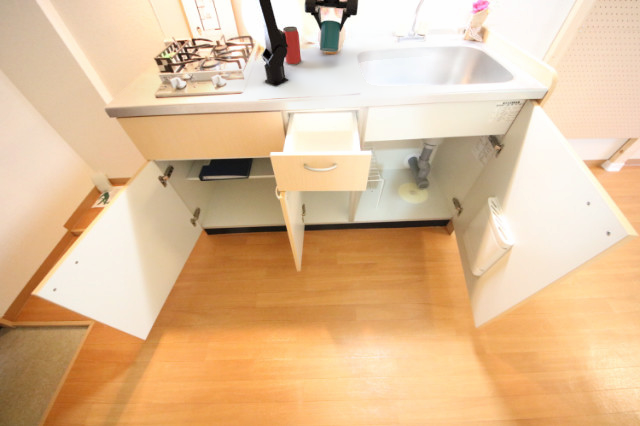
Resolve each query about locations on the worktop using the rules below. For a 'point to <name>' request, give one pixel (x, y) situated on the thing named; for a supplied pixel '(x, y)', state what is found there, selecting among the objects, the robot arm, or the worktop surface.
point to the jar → (329, 36)
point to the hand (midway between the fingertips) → (330, 30)
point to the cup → (341, 39)
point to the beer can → (292, 45)
